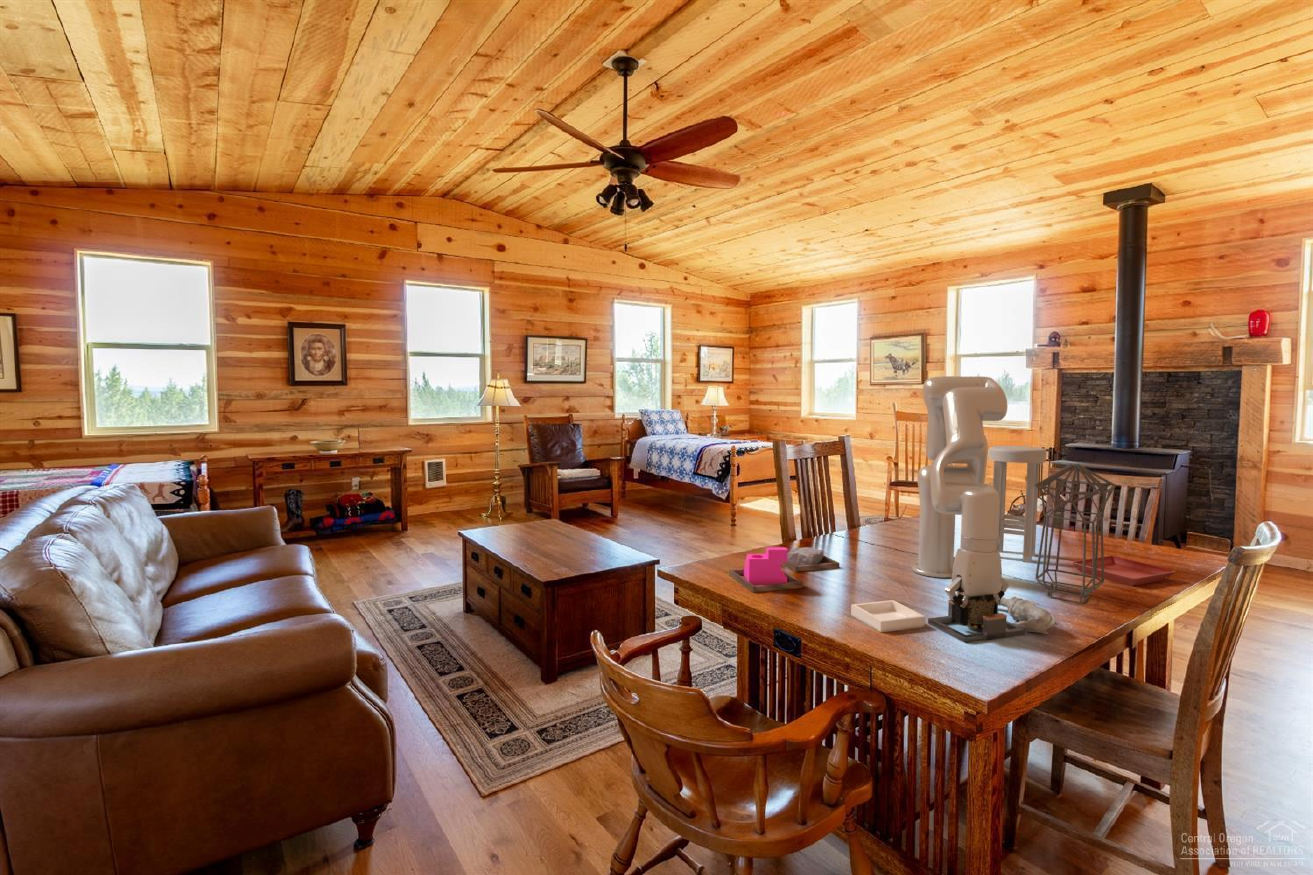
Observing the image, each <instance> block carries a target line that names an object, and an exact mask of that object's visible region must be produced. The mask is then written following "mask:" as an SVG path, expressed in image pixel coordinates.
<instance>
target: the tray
mask: <svg viewBox="0 0 1313 875" xmlns="http://www.w3.org/2000/svg"><path fill="white" fill-rule="evenodd" d="M850 612H851V613H850V615H851V616H852V617H854V618H856V619H857V620H859V621H860V622H862V623H864V624H865V625H867V626H869V627H871V628H872V629H874V630H876V631H877V632H879V633H887V632H895V631H896V632H897V631H902V630H903V631H906V630H911V629H912V630H913V629H919V628H920V629H921V628H925V627H926V616H925V615H924V614H921V613H920V612H917V611H916V610H914V609H911V608H910V607H908V606H906V605H903V604H901V603H900V602H897V601H896V600H893V599H889V600H882V601H872V602H871V601H870V602H863V603H853V604H851V605H850Z"/></svg>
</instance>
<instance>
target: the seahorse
mask: <svg viewBox="0 0 1313 875" xmlns="http://www.w3.org/2000/svg"><path fill="white" fill-rule="evenodd" d="M999 606H1002V607H1006V608H1007V612H1008V614H1009V616H1010V617H1012V620H1013V621H1016V622H1011V623H1012V624H1015V625H1017V626H1019V627H1021V628H1024V629H1026V632H1030V633H1038V634H1039V633H1041V634H1045V635H1046V634H1047V635H1048V634H1049V633H1048V632H1047V630H1048V629H1050V628H1052V627H1053V626H1054V625H1055V624H1056V622H1057V618H1056V617H1055V615H1053V614H1052V613H1051V612H1049V611H1048V610H1047V609H1046V608H1043V607H1040V606H1038V605H1037V602H1036V601H1034V600H1029V599H1023V598H1018V597H1016V596H1012V597H1010V598H1006V597H1002V598H1001V603H1000V604H998V607H999Z"/></svg>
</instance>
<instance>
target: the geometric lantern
mask: <svg viewBox="0 0 1313 875" xmlns="http://www.w3.org/2000/svg"><path fill="white" fill-rule="evenodd" d="M1066 473H1067V475H1066V477H1065V478H1064V479H1063V478H1061V477H1062V476H1064V475H1065V474H1066ZM1072 473H1073V474H1072ZM1080 473H1081V474H1082V476H1083V478H1084V479H1085V481H1080ZM1071 475H1072V480H1068V479H1069V477H1070V476H1071ZM1099 479H1100V480H1101V481H1102V482H1101V481H1099ZM1054 481H1056V482H1057V483H1059V484H1060V485H1059V486H1058V487H1052V486H1051V483H1053V482H1054ZM1066 483H1067V484H1071V487H1070V486H1069V485H1067V484H1066ZM1080 484H1082V485H1089V487H1088V490H1087V491H1078V490H1079V486H1080ZM1075 485H1076V488H1075ZM1034 486H1035V487H1037V488H1038V492H1040V495H1041V502H1042V503H1041V505H1042V514H1043V515H1042V516H1044V517H1043V524H1042V531H1041V537H1040V543H1039V544H1040V545H1039V551H1038V557H1037V558H1038V559H1037V565H1036V571H1035V578H1034V579H1035V580H1036V581H1037V582H1038V583H1039V585H1041V586H1042V587H1044V588H1045V589H1046V591H1047V594H1046V595H1045V596H1046V597H1047V598H1051V599H1056V600H1061V601H1067V602H1072V603H1077V604H1086V602H1087V601H1088V599H1089V596H1090V594H1091V593H1092V592H1095V591H1096V590H1097V589H1098V588H1099V587H1100V586H1102V585H1103V583H1105V579H1104V557H1105V556H1104V555H1105V554H1104V549H1105V548H1104V517H1103V516H1104V511H1105V508H1106V505H1107V503H1108V501H1109V499H1110V497H1111V495H1112V493H1113V492H1114V490H1115V488H1116V484H1115V483H1113V482H1111V481H1110V480H1108V479H1106V478H1104V477H1103V476H1100V475H1099V474H1097V473H1095V472H1093V471H1091V470H1090V469H1088V468H1086V467H1084V466H1083V465H1081V464H1079V463H1070V464H1068V465H1067V466H1065V467H1063V468H1062V469H1060V470H1058V471H1056V472H1055V473H1053V474H1051V475H1050V476H1048V477H1046V478H1045V479H1043V480H1040V481H1038V483H1037V484H1035V485H1034ZM1063 486H1064V487H1065V488H1067V489H1068V490H1070V491H1065V490H1062V488H1063ZM1108 487H1110V488H1108ZM1074 488H1075V489H1074ZM1091 488H1092V489H1093V490H1094V491H1091ZM1051 490H1052V491H1056V494H1055V495H1056V496H1055V495H1054V494H1053V493H1052V492H1050V491H1051ZM1059 493H1061V494H1066V495H1067V494H1068V496H1069V497H1068V498H1067V500H1061V499H1060V498H1059ZM1100 494H1101V495H1102V503H1101V506H1100V507H1099V508H1098V506H1097V504H1096V502H1095V500H1094V499H1093V497H1094V496H1096V495H1100ZM1075 495H1080V496H1081V497H1079V498H1076V499H1073V500H1072V498H1073V497H1074V496H1075ZM1044 496H1050V498H1051V500H1052V502H1053V504H1054V506H1055V507H1054V508H1051V509H1049V510H1048V511H1046V507H1045V497H1044ZM1088 498H1090V499H1091V502H1092V503H1093V505H1094V507H1095V509H1096V510H1097V512H1089V511H1080V510H1079V509H1078V508H1079V507H1077V505H1076V504H1075V503H1077V502H1079V501H1083V500H1084V499H1088ZM1055 500H1056V501H1057V503H1058V504H1057V503H1056V501H1055ZM1061 504H1063V505H1062V506H1061V507H1060V508H1059V506H1060V505H1061ZM1068 504H1072V506H1073V507H1074V510H1073V509H1066V508H1065V507H1066V506H1067V505H1068ZM1064 511H1065V512H1073V513H1077V514H1078V516H1080V520H1079V519H1075V518H1074V519H1073V518H1066V517H1064ZM1057 512H1060V517H1059V516H1056V515H1057ZM1048 513H1050V514H1048ZM1083 514H1089V515H1095V517H1094V518H1093V520H1086V519H1085V518H1084V516H1083ZM1050 518H1051V519H1052V520H1051V521H1052V522H1051V528H1050V529H1051V530H1050V538H1049V537H1048V536H1049V523H1050V522H1049V521H1050ZM1056 519H1059V520H1060V522H1059V531H1058V542H1057V552H1056V562H1055V569H1051V568H1049V567H1050V560H1051V553H1052V546H1053V538H1054V530H1055V524H1056V523H1055V522H1056ZM1081 519H1082V520H1081ZM1063 520H1065V521H1066V520H1067V521H1074V522H1079V523H1083V542H1082V543H1083V545H1082V546H1083V547H1082V553H1083V554H1082V560H1083V573H1078V572H1073V571H1068V570H1067V571H1066V570H1060V569H1059V562H1060V554H1061V553H1060V552H1061V551H1060V550H1061V542H1062V531H1063V530H1062V529H1063ZM1095 523H1096V524H1095ZM1087 524H1091V542H1092V543H1091V550H1092V551H1091V552H1092V553H1091V559H1092V575H1090V574H1086V573H1085V561H1086V557H1087V556H1086V553H1087ZM1095 525H1096V526H1095ZM1095 528H1096V530H1095ZM1095 531H1096V532H1095ZM1095 534H1096V535H1095ZM1048 538H1049V544H1048ZM1099 539H1100V557H1101V569H1102V578H1101V577H1097V560H1098V557H1099ZM1043 544H1044V546H1043ZM1043 547H1044V548H1043ZM1047 549H1048V552H1047ZM1043 550H1044V551H1043ZM1042 552H1043V561H1042V562H1043V563H1042V572H1041V573H1040V574H1039V572H1040V566H1041V565H1040V564H1041V557H1042ZM1049 572H1054V579H1053V578H1052V575H1051V574H1050V573H1049ZM1057 572H1058V573H1062V574H1068V575H1074V576H1079V577H1082V582H1081V583H1082V585H1079V584H1072V583H1067V582H1060V581H1058V579H1057ZM1046 574H1047V576H1048V577H1049V579H1050V580H1051V581H1047V580H1045V579H1046ZM1040 578H1041V579H1040ZM1086 578H1089V579H1090V580H1089V582H1088V583H1087V584H1086ZM1096 580H1098V582H1097V583H1096ZM1090 584H1092V586H1090ZM1048 585H1049V586H1048ZM1058 587H1061V588H1066V589H1070V590H1071V591H1070V590H1065V589H1060V588H1058ZM1079 587H1080V588H1079ZM1072 590H1075V591H1072ZM1077 591H1079V592H1077ZM1053 592H1055V593H1060V594H1065V595H1070V596H1076V597H1079V601H1077V600H1073V599H1067V598H1061V597H1057V596H1053ZM1082 597H1083V600H1082Z"/></svg>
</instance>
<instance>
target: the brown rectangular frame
mask: <svg viewBox="0 0 1313 875" xmlns="http://www.w3.org/2000/svg"><path fill="white" fill-rule="evenodd" d="M790 551H791V550H790ZM790 551H789V550H788V553H789V552H790ZM821 562H824V563H818V564H813V565H801V566H796V565H794V564H792V563H791V562H789V561H787V562H781V565H783V566H784V567H787V568H788V569H790V570H792V571H794V572H808V571H821V570H830V569H840V562H839V561H836V560H834V559H832V558H830V557H828V556H826V555H824V556H823V560H822V561H821Z"/></svg>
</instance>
